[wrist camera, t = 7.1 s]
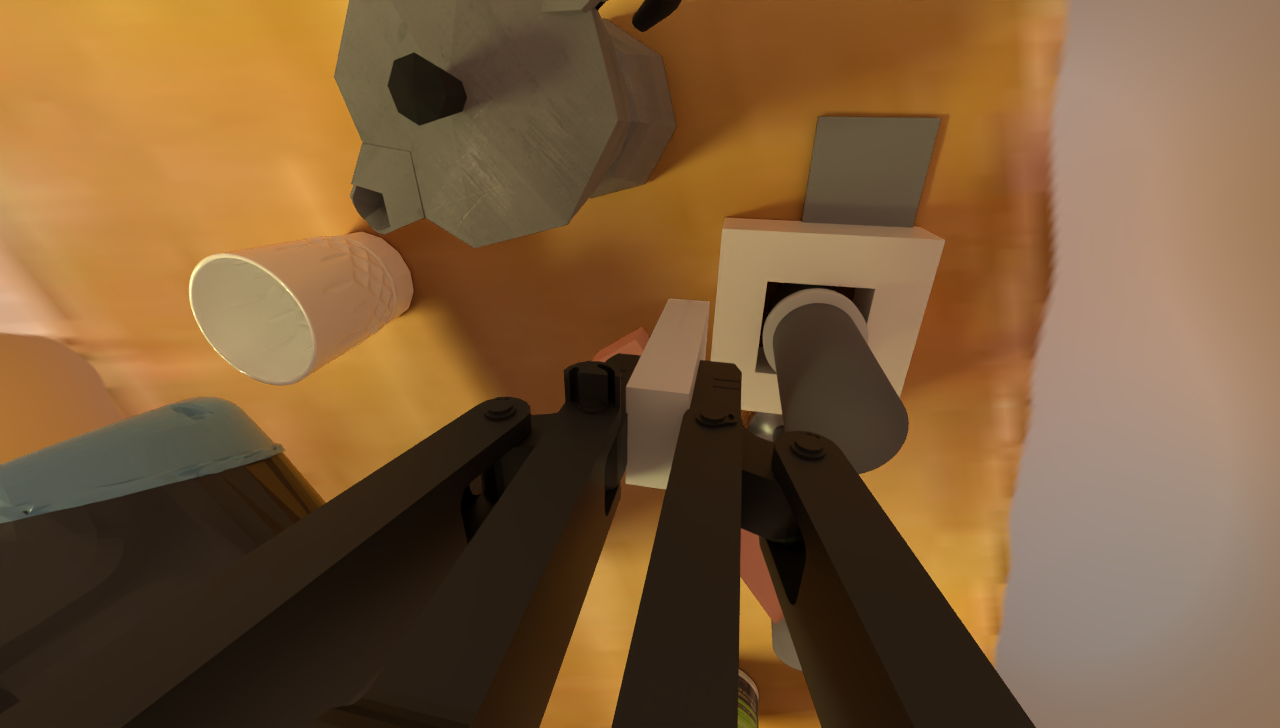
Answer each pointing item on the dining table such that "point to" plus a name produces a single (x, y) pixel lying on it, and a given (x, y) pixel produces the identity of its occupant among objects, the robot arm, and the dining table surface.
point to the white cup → (298, 302)
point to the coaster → (868, 170)
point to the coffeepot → (498, 111)
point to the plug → (832, 374)
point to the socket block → (821, 255)
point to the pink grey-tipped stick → (751, 554)
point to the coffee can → (747, 702)
